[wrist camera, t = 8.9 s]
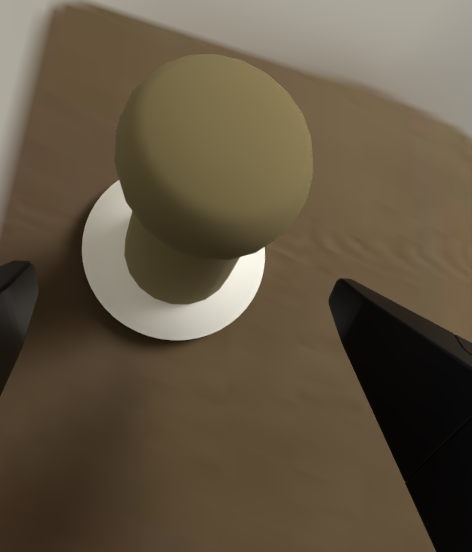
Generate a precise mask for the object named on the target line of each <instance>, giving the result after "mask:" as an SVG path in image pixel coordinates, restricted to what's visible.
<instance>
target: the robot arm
mask: <svg viewBox="0 0 472 552" xmlns="http://www.w3.org/2000/svg"><path fill="white" fill-rule="evenodd" d="M37 297H38V284H37V278H36V273H35V268H34V265H33V263H32V262H30V261H17V260H15V261H11V262H9V263H7V264H4V265H2V266H0V396H1V393H2V391H3V389H4V387H5V385H6V382H7V380H8V378H9V376H10V373H11V371H12V369H13V367H14V365H15V362H16V360H17V358H18V356H19V353H20V351H21V349H22V346H23V343H24V340H25V337H26V334H27V330H28V327H29V324H30V320H31V317H32V314H33V310H34V307H35V303H36V300H37ZM329 306H330V309H331V312H332V315H333V318H334V321H335V324H336V327H337V330H338V333H339V336H340V339H341V342H342V344H343V347H344V349H345V351H346V353H347V356H348V358H349V360H350V362H351V364H352V367H353V369H354V371H355V373H356V375H357V378H358V380H359V382H360V384H361V387H362V389H363V391H364V393H365V395H366V398H367V400H368V402H369V404H370V406H371V409H372V411H373V413H374V415H375V417H376V420H377V422H378V424H379V426H380V428H381V431H382V433H383V435H384V437H385V439H386V442H387V444H388V446H389V448H390V450H391V453H392V455H393V457H394V459H395V461H396V464H397V466H398V468H399V470H400V472H401V475H402V477H403V479H404V481H406V482H405V484H406V486H407V488H408V491H409V493H410V495H411V497H412V499H413V502H414V504H415V506H416V508H417V510H418V513H419V515H420V517H421V519H422V521H423V524H424V526H425V528H426V530H427V532H428V535H429V537H430V539H431V541H432V543H433V546H434V548H435V550H436V552H472V343H471V342H469V341H467V340H465V339H463V338H461V337H459V336H458V335H454V334H453V333H452V332H450V331H448V330H446V329H444V328H442V327H440V326H439V325H437V324H435V323H433V322H431V321H429V320H427V319H425V318H424V317H422V316H420V315H418V314H416V313H414V312H412V311H410V310H408V309H407V308H405V307H403V306H401V305H399V304H397V303H395V302H393V301H392V300H390V299H388V298H386V297H384V296H382V295H380V294H378V293H376V292H375V291H373V290H371V289H369V288H367V287H365V286H363V285H361V284H359V283H358V282H356V281H354V280H352V279H345V278H340V279H338V280H337V281H336V283H335V285H334V288H333V290H332V292H331V294H330V297H329Z"/></svg>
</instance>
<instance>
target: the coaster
mask: <svg viewBox="0 0 472 552" xmlns="http://www.w3.org/2000/svg"><path fill="white" fill-rule="evenodd" d="M131 214H132V210H131V208H130V207H129V206H128V204H127V203H126V201H125V197H124V194H123V191H122V187H121V184H120V181H119V180H118V181H117V182H116V183H114V184H113V185H112V186H111V187H109V188H108V189H107V190H106V191H105V192H104V193H103V194H102V196H101V197H100V198H99V200H98V201H97V202H96V203H95V205H94V207H93V209H92V211H91V212H90V214H89V217H88V219H87V222H86V225H85V229H84V233H83V239H82V259H83V265H84V270H85V274H86V277H87V279H88V282H89V284H90V287H91V289H92V290H93V292H94V294H95V296H96V297H97V299H98V300H99V301H100V303H101V304H102V305H103V307H104V308H105V309H106V310H107V311H108V312H109V313H110V314H111V315H112V316H113V317H114V318H116V319H117V320H118V321H120V322H121V323H122V324H124V325H125V326H127V327H129V328H131V329H133V330H134V331H136V332H139V333H142V334H144V335H147V336H150V337H154V338H158V339H165V340H189V339H195V338H200V337H203V336H206V335H210V334H212V333H214V332H216V331H219V330H221V329H222V328H224V327H225V326H227V325H229V324H230V323H231V322H233V321H234V320H235V319H236V318H237V317H239V316H240V315H241V313H242V312H243V311H244V310H245V309H246V308H247V307H248V305H249V304H250V302H251V301H252V300H253V298H254V296H255V294H256V292H257V290H258V288H259V285H260V282H261V280H262V275H263V271H264V262H265V248H262V249H261V250H259V251H258V252H256V253H253V254H249V255H246V256H242V257H240V258H239V260H238V262H237V264H236V265H235V267H234V269H233V270H232V272H231V274H230V276H229V277H228V279H227V280H226V281H225V283H224V284H223V285H222V287H221V288H220V289H219V290H218V291H217V292H215V293H214V294H213V295H211V296H210V297H208V298H207V299H205V300H202V301H199V302H196V303H192V304H170V303H167V302H164V301H161V300H158V299H155V298H153V297H152V296H150V295H149V294H148V293H146V292H145V291H144V290H142V289H141V288H140V287H139V286H138V284H137V283H136V282H135V280H134V279H133V277H132V276H131V275H130V273H129V270H128V267H127V263H126V260H125V257H124V252H125V238H126V234H127V230H128V226H129V222H130V218H131Z"/></svg>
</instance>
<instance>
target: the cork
mask: <svg viewBox="0 0 472 552" xmlns="http://www.w3.org/2000/svg"><path fill="white" fill-rule="evenodd" d="M114 161H115V165H116V170H117V174H118V177H119V181H120V184H121V187H122V191H123V194H124V197H125V201H126V203H127V204H128V206H129V207H130V208H131V210H132V214H131V218H130V222H129V226H128V230H127V234H126V238H125V252H124V257H125V260H126V263H127V267H128V270H129V273H130V275H131V276H132V277H133V279H134V280H135V282H136V283H137V284H138V286H139V287H140V288H141V289H142V290H144V291H145V292H146V293H148V294H149V295H150V296H152V297H153V298H155V299H158V300H161V301H164V302H167V303H170V304H192V303H196V302H199V301H202V300H205V299H207V298H208V297H210V296H211V295H213V294H214V293H215V292H217V291H218V290H219V289H220V288H221V287H222V285H223V284H224V283H225V281H226V280H227V279H228V277H229V276H230V274H231V272H232V270H233V269H234V267H235V265H236V264H237V262H238V260H239V258H240V257H242V256H246V255H249V254H253V253H256V252H258V251H259V250H261V249H262V248H264V247H265V246H266V245H268V244H269V243H271V242H272V241H274V240H275V239H276V238H278V237H279V236H281V235H282V234H284V233H285V232H286V231H287V230H288V228H289V227H290V225H291V224H292V222H293V221H294V220H295V218H296V217H297V215H298V214H299V212H300V211H301V209H302V207H303V206H304V204H305V202H306V200H307V196H308V192H309V189H310V185H311V181H312V177H313V159H312V143H311V136H310V133H309V131H308V128H307V125H306V122H305V119H304V117H303V114H302V112H301V111H300V109H299V108H298V107H297V105H296V104H295V102H294V101H293V99H292V98H291V96H290V95H289V94H288V92H287V91H286V90H285V89H284V88H282V87H281V86H280V85H279V84H278V83H277V82H276V81H275V80H273V79H272V78H271V77H270V76H269V75H268V74H267V73H265V72H263V71H261V70H259V69H257V68H255V67H253V66H252V65H250V64H248V63H246V62H244V61H242V60H238V59H234V58H230V57H226V56H221V55H217V54H202V55H187V56H184V57H181V58H179V59H176V60H174V61H171V62H168V63H166V64H163V65H162V66H160V67H159V68H158V69H157V70H155V71H154V72H153V73H152V74H151V75H150V76H149V77H147V78H146V79H145V80H144V81H143V82H142V83H141V84H140V85H139V86H137V87H136V88H135V89H134V90H133V91H132V93H131V95H130V97H129V99H128V102H127V104H126V106H125V108H124V110H123V112H122V114H121V116H120V119H119V123H118V126H117V130H116V144H115V159H114Z"/></svg>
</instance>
